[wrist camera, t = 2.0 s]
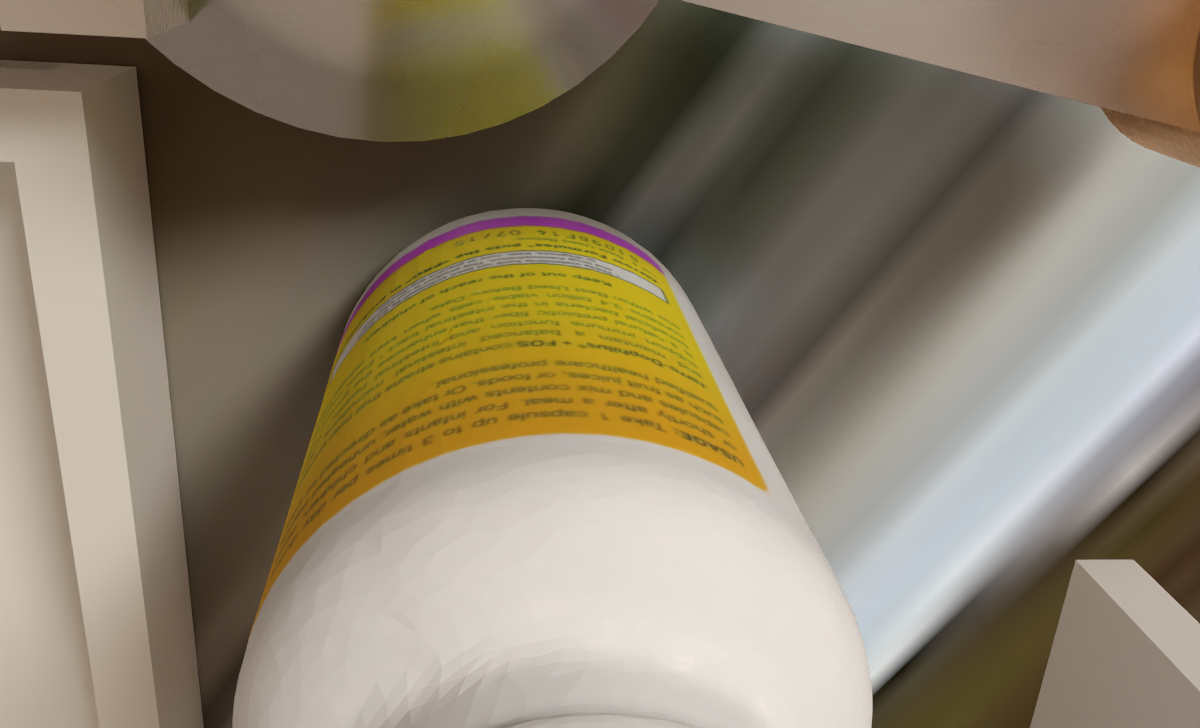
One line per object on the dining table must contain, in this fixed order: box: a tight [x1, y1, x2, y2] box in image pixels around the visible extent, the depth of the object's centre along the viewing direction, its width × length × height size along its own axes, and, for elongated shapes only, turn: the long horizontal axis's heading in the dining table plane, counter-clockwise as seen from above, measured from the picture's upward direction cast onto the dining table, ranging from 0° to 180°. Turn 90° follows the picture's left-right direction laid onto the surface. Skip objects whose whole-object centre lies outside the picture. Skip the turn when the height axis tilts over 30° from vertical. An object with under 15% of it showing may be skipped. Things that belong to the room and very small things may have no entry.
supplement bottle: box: [232, 208, 872, 728], centre depth 14 cm, size 7×7×13 cm
